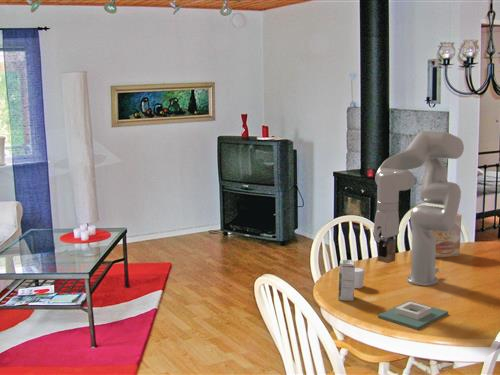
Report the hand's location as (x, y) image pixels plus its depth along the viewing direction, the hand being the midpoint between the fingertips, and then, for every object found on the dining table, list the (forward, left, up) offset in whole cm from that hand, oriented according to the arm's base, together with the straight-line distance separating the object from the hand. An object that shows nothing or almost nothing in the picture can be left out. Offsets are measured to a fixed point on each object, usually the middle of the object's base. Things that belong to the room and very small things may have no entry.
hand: (386, 254), depth 246 cm
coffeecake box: (-73, -18, -19) cm, 78 cm away
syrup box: (+5, -14, -19) cm, 24 cm away
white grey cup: (-9, -20, -19) cm, 29 cm away
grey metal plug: (0, 0, -2) cm, 2 cm away
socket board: (+3, +14, -19) cm, 24 cm away
